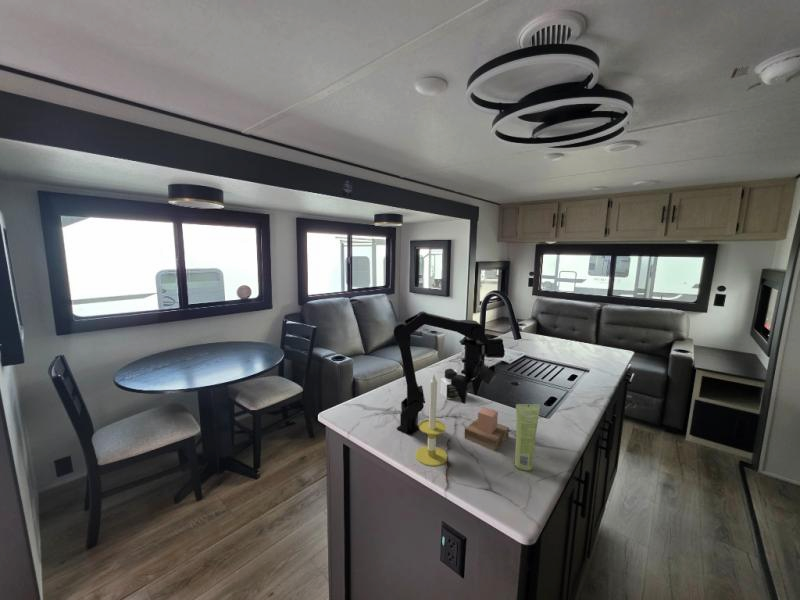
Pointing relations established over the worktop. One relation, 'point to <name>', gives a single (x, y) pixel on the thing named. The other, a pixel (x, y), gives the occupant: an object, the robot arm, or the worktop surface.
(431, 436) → the candle
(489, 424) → the terracotta block
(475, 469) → the worktop surface
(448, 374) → the medicine bottle
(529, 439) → the tube
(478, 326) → the robot arm
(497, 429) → the walnut block
